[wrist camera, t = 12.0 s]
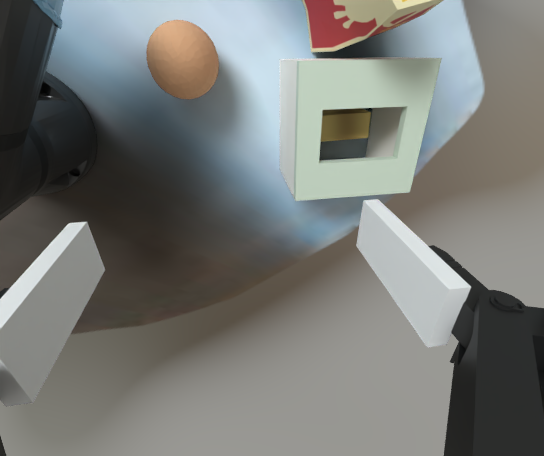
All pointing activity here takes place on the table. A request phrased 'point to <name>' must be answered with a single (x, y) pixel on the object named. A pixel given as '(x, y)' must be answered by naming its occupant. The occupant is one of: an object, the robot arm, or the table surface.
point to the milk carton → (357, 19)
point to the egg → (182, 59)
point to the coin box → (349, 95)
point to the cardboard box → (345, 124)
